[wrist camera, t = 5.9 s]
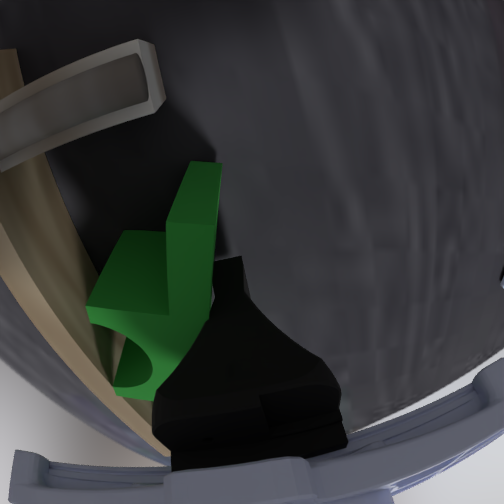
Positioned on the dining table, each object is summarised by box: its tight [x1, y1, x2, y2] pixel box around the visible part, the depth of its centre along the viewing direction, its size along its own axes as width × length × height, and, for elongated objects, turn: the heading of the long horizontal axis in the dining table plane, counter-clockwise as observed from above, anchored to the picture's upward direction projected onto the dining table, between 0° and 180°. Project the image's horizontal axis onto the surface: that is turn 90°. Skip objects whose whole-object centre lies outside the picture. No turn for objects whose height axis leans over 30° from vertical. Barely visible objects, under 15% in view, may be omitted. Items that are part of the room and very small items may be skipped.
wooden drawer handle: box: [0, 39, 171, 456], centre depth 12 cm, size 6×22×4 cm, turn 8°
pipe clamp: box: [85, 161, 222, 401], centre depth 12 cm, size 11×4×5 cm, turn 172°
